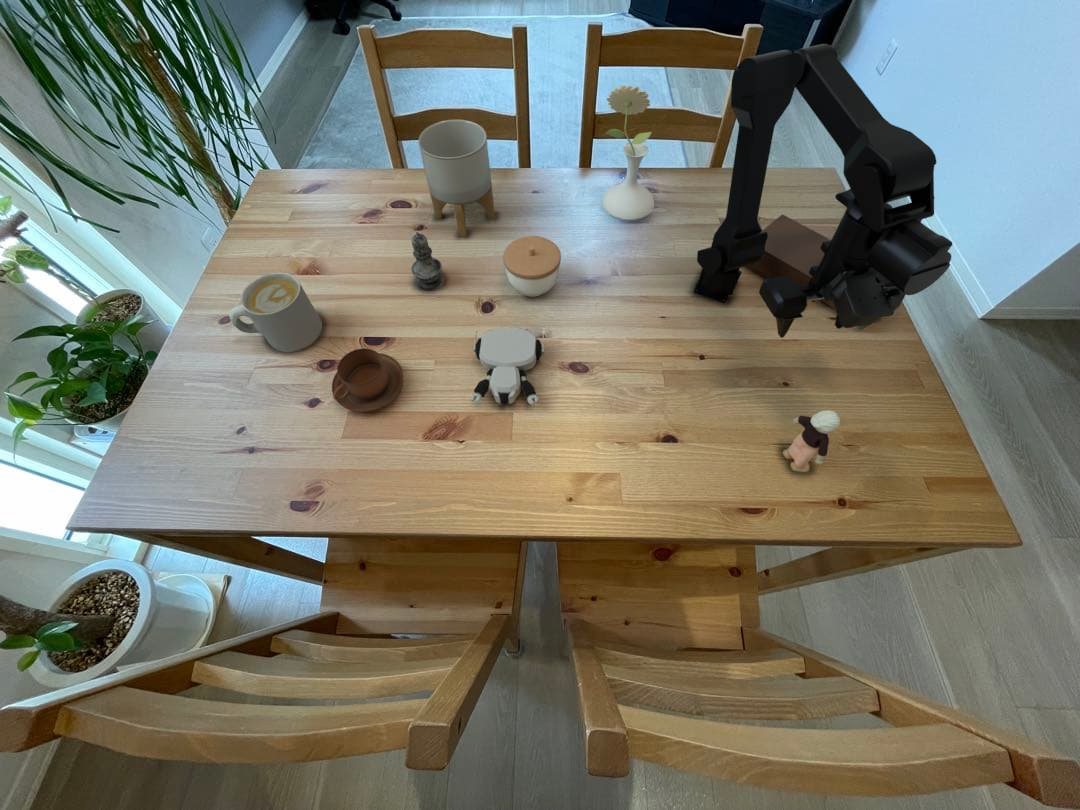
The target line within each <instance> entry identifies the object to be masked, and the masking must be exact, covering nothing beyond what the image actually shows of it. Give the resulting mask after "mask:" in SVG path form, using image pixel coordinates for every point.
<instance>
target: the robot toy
mask: <svg viewBox="0 0 1080 810" xmlns="http://www.w3.org/2000/svg"><path fill="white" fill-rule="evenodd" d="M477 333H478V329H477V328H475V329H474V342H473V346H472V347H473V348H472V350H473V351H474V353H475V356H476V358H477V360H478V361H480V362H481V363H480V364H481V365H482V367H484V368H485V369H487V370H488V371H487V372H486V378H484V379H481V380H480V381H479V382H478V383H477V385H476V386H475V388H474V389H473V392H474V393H472V394H471V395H470V398H469V399H470V401H471V402H474V403H475V404H479V403H480V401H482V398H485V396H486V395H487V392H488V391H489V389H490V391H491V394H492V395H493V397H494V399H495V402H496V403H497V404H500V405H502V406H507V405H511V404H513V403H515V401H516V399H517V397H519V395H520V394H521V391H522V392H523V395H524V397H525V398H526V400H527V403H528V404H529V405H531V406H533V405H535V404H538V402H539V397H538V395H536V394H537V392H536V390H535V387H534V386H533V383H532V382H530V381H529V380H527V378H526V377H527V374H526V372H525V371H528V370H530V369H533V368H534V367H535V365H536V363H537V362H539V361H540V359H541V357H542V354H545V353H544V352H545V348H544V346H545V345H544V344H545V329H542V343H541V340H540V339H538V337H537V336H536V334H535V333H533V332H532V331H531V330H529V329H524V328H521V327H513V326H506V327H496V328H492V329H489V330H487V331H485V332H483V334H482V335H481V337H479V338H477Z"/></svg>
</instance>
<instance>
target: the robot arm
mask: <svg viewBox="0 0 1080 810" xmlns="http://www.w3.org/2000/svg"><path fill="white" fill-rule="evenodd" d="M730 87H731V93H730V94H731V97H730V107H731V109H732V112H733V114H734V116H735V119H736V121H737V123H738V131H737V137H736V144H735V153H734V159H733V167H732V172H731V173H732V174H731V181H730V188H729V195H728V200H727V208H726V215H725V219H724V220H723V221H722V222H721V224H720V226H719V227H718V228H717V230H716V231H715V233H714V235H713V239H712V242H711V246H710V247H706V248H703V249H702V248H701V249H699V250H697V255H696V256H697V257H696V261H697V263H698V265H699V266H700V267H701V272H700V274H699V278H698V280H697V282H696V284H695V287H694V289H693V291H692V292H693V294H696V295H698V296H700V297H701V296H702V297H704V298H707V299H710V300H713V301H715V302H716V301H717V302H720V303H722V304H726V303H727V302H728V299H729V297H730V296H733V295H734V291H735V290H736V287H737V284H738V282H739V280H740V278H741V276H742V272H743V271H742V270H740V269H741V268H746V267H745V266H749V265H751V264H754V263H756V262H757V261H759V260H760V259H761V256H762V255H763V254H765V244H766V240H767V238H768V234H767V232H765V231H763V228H762V227H761V224H760V222H759V213H760V207H761V201H762V196H763V191H764V186H765V182H766V181H765V180H766V175H767V170H768V164H769V159H770V153H771V148H772V142H773V138H774V131H775V127H776V124H777V123H778V121H779V120H780V119H781V117H782V115H783V114H784V113H785V111H786V110H787V109H788V107H789V105H790V104H791V102H792V98H793V95H794V92H795V89H796V90H797V91H798V93H799V94H800V96H801V97H802V98H803V100H804V102H805V103H806V104H807V105H808V107H809V108H810V109H811V111H812V112H813V114H814V116H816V118H817V119H818V120H819V122H820V124H821V125H822V126H823V127H824V129H825V130H826V132H827V133H828V134H829V135H830V138H832V140H833V142H834V143H835V144H836V145H837V147H838V148H839V150H840V152H841V154H842V155H843V171H842V173H843V176H844V179H845V180H846V182H847V184H848V186H849V189H847V190H845V191H841V192H838V193H836V194H835V196H834V197H835V200H836V201H838V202H839V203H840V204H841V205H843V206H844V207H846V208H845V211H844V212H843V216H842V217H841V219H840V221H839V223H838V225H837V228H836V230H835V232H834V233H833V236H832V238H831V239H830V240H831V241H827V242H823V243H822V245H821V247H820V249H821V250H822V251H823V253H824V256H823V258H822V260H821V262H820V264H819V266H813V267H811V269H810V271H809V274H810V275H811V276H812V278H813V280H812V284H807V285H801V286H799V285H798V283H797V282H796V280H795V279H794V278H793V276H792V275H790V276H783V277H777V278H770V279H765V278H764V279H763V281H762V283H761V285H760V288H759V289H758V294H759V296H760V298H761V299H762V300H763V302H764V304H765V305H766V307H767V309H768V310H769V311H770V313H771V315H772V316H773V317H774V318H775V321H776V328H777V335H778V336H779V338H781V339H783V338H785V336H786V334H787V333H788V332H789V330H790V328H791V326H792V324H793V322H794V320H795V319H800V318H803V314H802V313H804V312H805V310H806V308H807V306H808V302H813V301H821V300H820V299H825V300H826V301H829V300H833V302H834V305H835V308H836V309H835V308H834V309H835V310H836V317H835V321H834V326H835V328H836V329H838V330H840V329H842V328H845V329H852V328H855V327H857V326H862V325H866V326H871V325H873V324H874V323H875V322H877V321H879V320H880V319H881V318H886V317H892V316H894V314H895V311H896V309H898V308H899V307H900V306H901V305H902V302H903V300H904V299H905V297H906V296H913V295H916V294H919V293H921V292H923V291H924V290H926V289H927V288H929V287H930V286H932V285H934V283H936V282H937V281H938V280H940V278H941V277H942V276H943V275H944V274H945V273H946V272H947V271H948V269H949V268H950V266H951V264H950V262H951V261H952V253H951V252H949V250H950V249H951V247H953V241H952V240H950V239H949V238H947V237H945V236H944V235H942V234H938V233H937V232H935V231H934V230H932V229H931V228H929V227H928V226H927V225H925V224H924V223H922V221H923V220H925V219H928V218H932V217H933V216H935V199H936V198H935V175H934V173H935V166H936V165H937V157H936V154H935V152H934V150H933V149H932V148H931V147H930V146H929V145H928V144H927V143H925V142H924V141H923V140H922V139H921V138H919V137H918V136H917V135H916V134H915V133H913V132H911V131H910V130H907V129H905V128H902V127H900V126H897V125H894V124H892V123H890V122H889V121H888V120H887V119H886V118H884V117H883V115H882V114H881V112H879V110H878V109H877V108H876V106H875V104H874V103H872V101H871V100H870V99H869V97H868V96H867V95H866V93H865V92H864V90H863V89H862V88H861V87H860V86H859V84H858V83H857V82H856V80H855V79H854V78H853V77H852V75H851V74H850V73H849V71H848V70H847V69H846V68H845V66H844V65H843V64H842V62H841V61H840V59H839V58H838V51H837V50H836V48H835V47H834V46H833V45H831V44H828V43H821V44H816V45H812V46H811V45H810V46H807V47H803V48H798V49H796V50H795V51H794V52H792V51H790V50H789V49H782V50H777V51H772V52H768V53H764V54H763V53H762V54H758V55H754V56H748V57H745V58H743V59H742V60H741V61H740V63H739V64H738V65H737V66H736V67H735V68H734V70H733V73H732V77H731V86H730ZM908 197H909V199H910V202H908V203H906V204H901V205H899V206H895V207H893V206H892V205H891V204H890V203H891V202H894V201H897V200H901V199H904V198H908ZM833 298H834V299H833Z"/></svg>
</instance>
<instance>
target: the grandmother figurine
mask: <svg viewBox="0 0 1080 810" xmlns="http://www.w3.org/2000/svg"><path fill="white" fill-rule="evenodd" d="M792 421H793V422H792V423H794V425H801V426H802V428H803V429H804V430H802V431H801V433H800V434H798V435H797V436H796V437H795V438H794V440H793V442H791V445H790V446H789V447H788V448H786V449H784V450H782V451H783V452H782V455H783V456H784V458H785V459H787V460H793V461H791V462H790V467H791V470H793V471H794V472H799V473H808V472H809V471H810V464H809V462H810V461H811V459H812V458H813V457H814V456H815V455H816V454H817V455H816V458H815V464H816V465H818V466H821V465H823V464H824V461H825V459H826V456H827V455H828V449H829V443H830V438H829V434H830V433H832V432H834V431H835V430H837V429H838V427H839V426H840V425H841V418H840V416H839V414H838V413H837V412H835V411H834V410H830V409H829V410H828V409H827V410H821V411H818V412H817V413H816V414H812V417H811V416H807V415H799V416H797V417H794V418H793V420H792Z"/></svg>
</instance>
